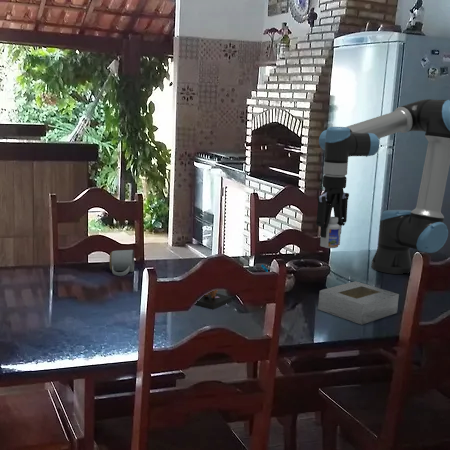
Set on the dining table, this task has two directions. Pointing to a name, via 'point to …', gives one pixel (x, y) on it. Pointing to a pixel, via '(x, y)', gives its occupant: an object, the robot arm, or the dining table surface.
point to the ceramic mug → (122, 262)
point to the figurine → (213, 300)
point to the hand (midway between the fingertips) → (330, 245)
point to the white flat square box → (358, 302)
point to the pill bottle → (333, 232)
